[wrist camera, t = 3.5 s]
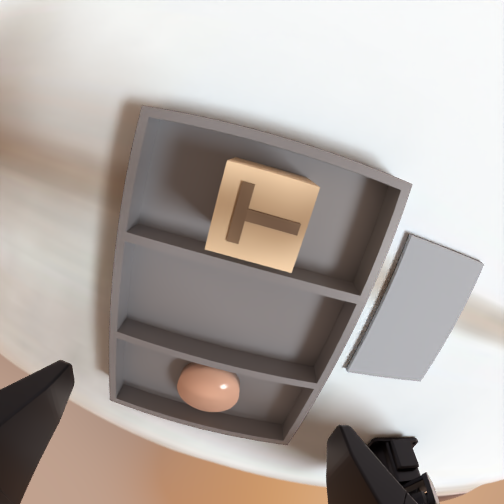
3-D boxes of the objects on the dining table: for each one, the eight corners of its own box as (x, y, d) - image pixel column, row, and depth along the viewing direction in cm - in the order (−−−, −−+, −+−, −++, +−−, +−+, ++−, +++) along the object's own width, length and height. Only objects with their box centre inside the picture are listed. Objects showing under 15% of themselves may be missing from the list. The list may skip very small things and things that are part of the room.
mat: (418, 378, 24) (420, 381, 24) (346, 368, 24) (347, 371, 23) (481, 262, 20) (483, 264, 20) (409, 233, 20) (411, 235, 20)
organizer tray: (286, 425, 26) (287, 445, 24) (119, 382, 26) (109, 400, 23) (396, 179, 19) (412, 184, 16) (156, 109, 18) (142, 105, 16)
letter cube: (285, 245, 20) (291, 273, 16) (217, 226, 20) (204, 249, 15) (307, 177, 19) (320, 187, 14) (235, 157, 18) (226, 160, 14)
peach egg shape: (231, 407, 25) (230, 417, 24) (176, 392, 25) (173, 402, 24) (247, 369, 23) (246, 379, 22) (185, 352, 23) (182, 361, 22)
